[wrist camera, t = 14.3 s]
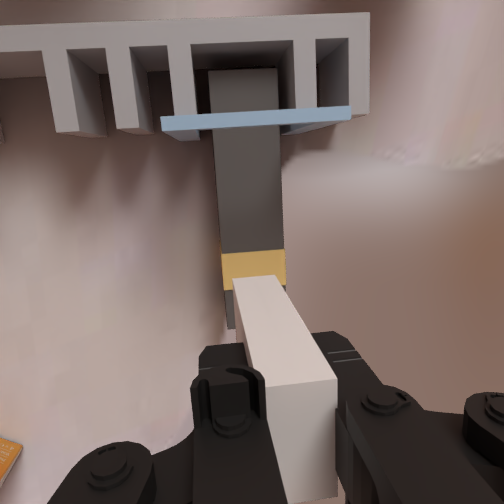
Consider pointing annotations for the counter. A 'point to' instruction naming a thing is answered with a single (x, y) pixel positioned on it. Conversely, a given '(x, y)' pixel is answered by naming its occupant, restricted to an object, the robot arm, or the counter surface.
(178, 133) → the blue bezel
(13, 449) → the small box
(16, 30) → the grey slotted rack
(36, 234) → the counter surface
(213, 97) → the grey banded bar
